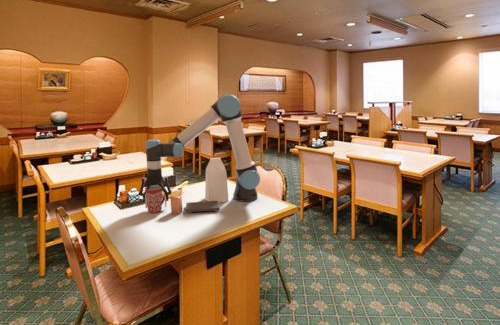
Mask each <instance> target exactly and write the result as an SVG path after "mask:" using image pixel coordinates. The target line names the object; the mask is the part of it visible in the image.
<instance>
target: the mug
mask: <svg viewBox="0 0 500 325" xmlns="http://www.w3.org/2000/svg"><path fill="white" fill-rule="evenodd" d="M146 188H147V186H146V187H144V192H146V199H147V212H148V213H149V214H157V213H160V212H161V211H162V205H163V204H164V203H165V197H164V196H165V193H164V192H163V190H162V188H161V187H160V186H159V185H151V186H150V187H149V189H148V190H146ZM162 192H163V193H164V194H163V197H162Z"/></svg>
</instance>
